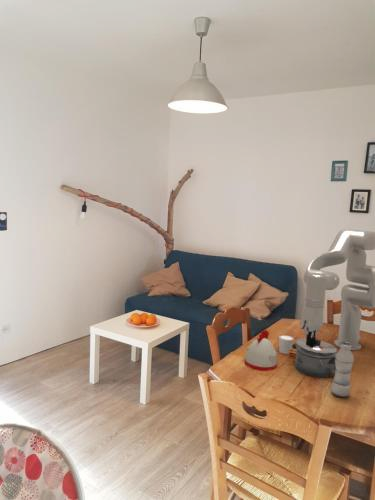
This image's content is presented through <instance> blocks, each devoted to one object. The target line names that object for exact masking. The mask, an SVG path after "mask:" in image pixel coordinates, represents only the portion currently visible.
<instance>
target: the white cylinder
mask: <svg viewBox="0 0 375 500" xmlns="http://www.w3.org/2000/svg"><path fill="white" fill-rule="evenodd" d="M294 340H295V339H294V337H293V336H291V335H285V334H283V335H279V336H278V352H279V353H281V354H283V355H290V354H289V350H290V349H292V350H293V348H292V345H293V344H294Z"/></svg>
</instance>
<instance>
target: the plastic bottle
mask: <svg viewBox="0 0 375 500" xmlns="http://www.w3.org/2000/svg"><path fill="white" fill-rule="evenodd" d="M354 361H355V358H354V355H353V353H352V350H351V344H350V343H347V342H341V343H340V347H339V350H337V353H336V355H335V367H334V374H333V378H332V379H333V380H332V382H331V386H330V387H331V389H330V390H331V392H332V394H333V395H335V396H336V397H341V398H342V397H343V398H345V397H348V396H349V394H351V372H352V368H353V365H354Z"/></svg>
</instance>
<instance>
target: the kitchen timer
mask: <svg viewBox="0 0 375 500" xmlns="http://www.w3.org/2000/svg"><path fill="white" fill-rule="evenodd" d="M269 335H270V332H269V330H267V329H265V330H263V331H261V332H260V334H258V337H257V338H256V339H254V340H253V342H252V343H250V345H249V346H247V347H246V353H245V357H244V364H245V363H246V364H247V365H248V366H249V367H248V366H247V365H246V364H245V365H246V366H247V367H248V368H250V367H251V369H253V370H256V371H263V372H268V371H270V372H271V371H274V370H275V369H277V367H278V351H276V350H275V348H274V346H273V343H272V342H271V341H270V340H269Z"/></svg>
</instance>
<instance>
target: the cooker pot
mask: <svg viewBox="0 0 375 500" xmlns="http://www.w3.org/2000/svg"><path fill="white" fill-rule="evenodd" d="M292 349H294V350H295V351H296V352H295V361H294V368H295V370H297V372H299V373H301V374H303V375H306V376H308V377H312V378H318V379H319V378H320V379H323V378H324V379H325V378H326V379H327V378H331V377H334V374H335V355H336V353H337V352H338V351H337V352H336V353H335V354H322V353H316V352H312V351H309V350H306V349H303V348H301V347H299V346H298V345H297V344H296V343H293V345H292Z"/></svg>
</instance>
